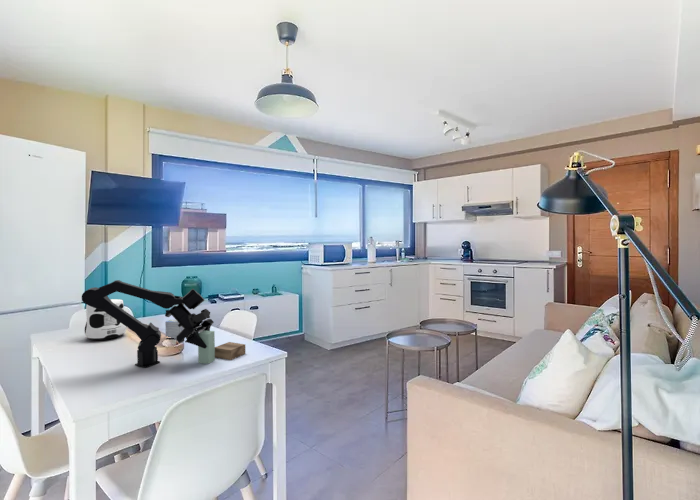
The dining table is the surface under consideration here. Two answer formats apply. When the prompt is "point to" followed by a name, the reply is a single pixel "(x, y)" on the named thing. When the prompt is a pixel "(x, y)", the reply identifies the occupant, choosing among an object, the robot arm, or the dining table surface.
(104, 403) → the dining table surface
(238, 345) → the walnut block
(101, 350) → the dining table surface
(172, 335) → the medicine box
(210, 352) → the tall green block
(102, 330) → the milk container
